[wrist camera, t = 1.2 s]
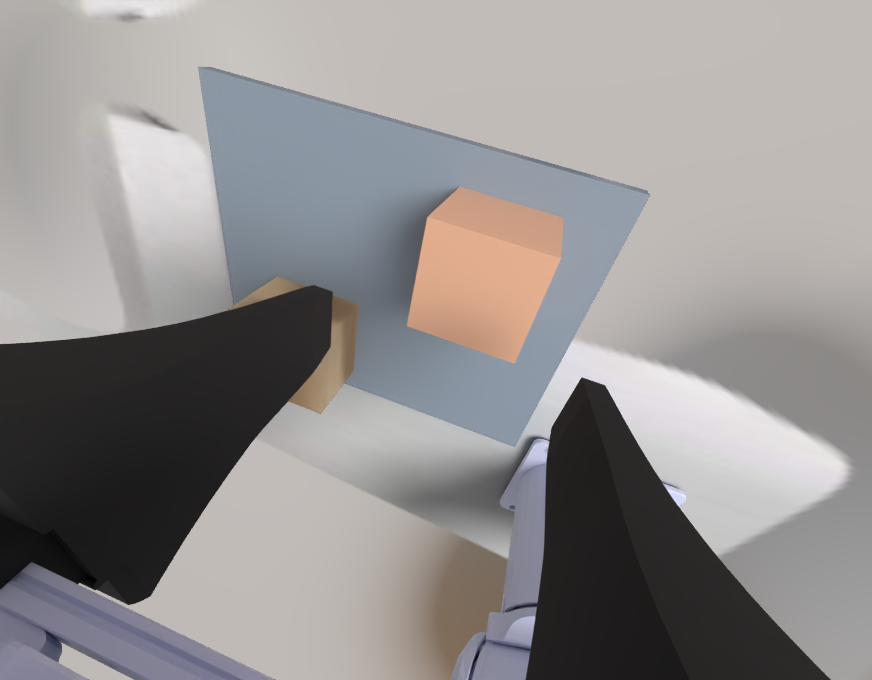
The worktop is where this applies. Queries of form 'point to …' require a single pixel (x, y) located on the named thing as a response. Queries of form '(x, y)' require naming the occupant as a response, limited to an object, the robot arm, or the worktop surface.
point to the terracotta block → (484, 272)
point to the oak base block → (337, 358)
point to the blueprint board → (398, 237)
